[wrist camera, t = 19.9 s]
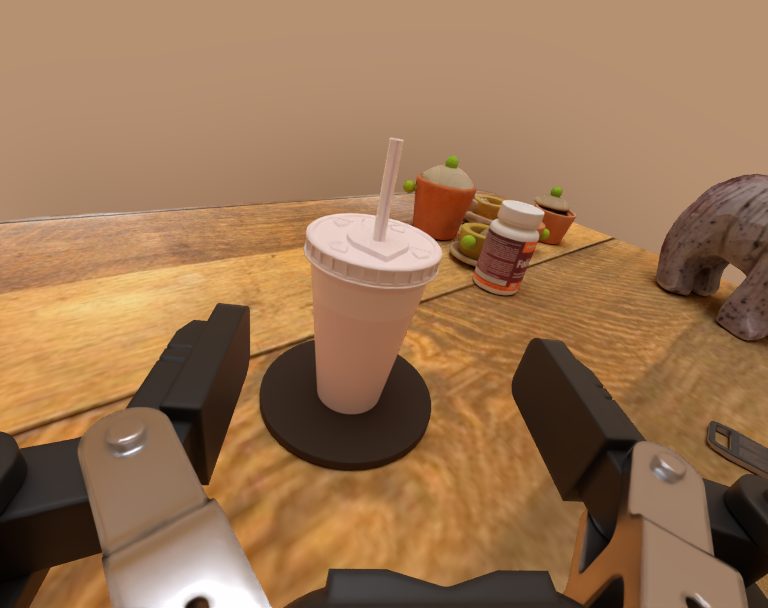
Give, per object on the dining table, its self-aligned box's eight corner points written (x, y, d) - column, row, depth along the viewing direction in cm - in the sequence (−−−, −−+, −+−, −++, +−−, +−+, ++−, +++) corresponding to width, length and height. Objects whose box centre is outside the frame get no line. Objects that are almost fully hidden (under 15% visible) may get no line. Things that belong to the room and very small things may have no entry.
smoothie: (292, 436, 19) (316, 138, 12) (293, 353, 24) (310, 112, 17) (414, 432, 21) (499, 167, 14) (390, 355, 26) (442, 135, 19)
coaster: (290, 500, 17) (291, 493, 17) (242, 359, 24) (242, 351, 24) (462, 436, 22) (465, 429, 22) (380, 334, 29) (381, 327, 29)
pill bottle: (513, 301, 37) (547, 220, 33) (467, 285, 39) (494, 204, 35) (519, 284, 41) (550, 208, 37) (477, 269, 43) (502, 195, 38)
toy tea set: (481, 281, 40) (514, 189, 35) (382, 227, 49) (397, 147, 44) (580, 246, 57) (611, 180, 52) (493, 210, 66) (512, 151, 61)
